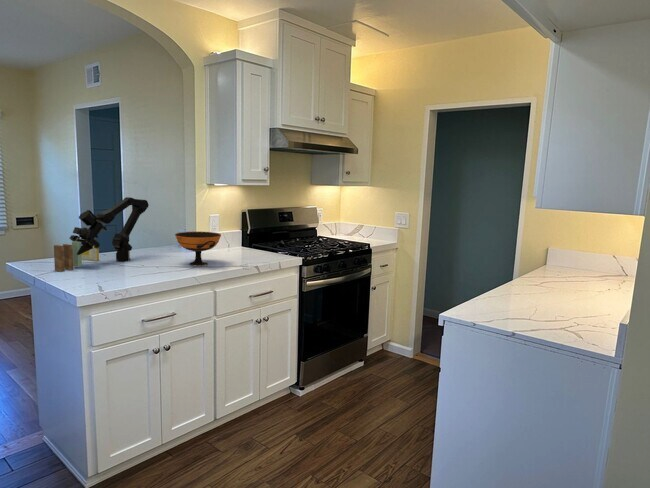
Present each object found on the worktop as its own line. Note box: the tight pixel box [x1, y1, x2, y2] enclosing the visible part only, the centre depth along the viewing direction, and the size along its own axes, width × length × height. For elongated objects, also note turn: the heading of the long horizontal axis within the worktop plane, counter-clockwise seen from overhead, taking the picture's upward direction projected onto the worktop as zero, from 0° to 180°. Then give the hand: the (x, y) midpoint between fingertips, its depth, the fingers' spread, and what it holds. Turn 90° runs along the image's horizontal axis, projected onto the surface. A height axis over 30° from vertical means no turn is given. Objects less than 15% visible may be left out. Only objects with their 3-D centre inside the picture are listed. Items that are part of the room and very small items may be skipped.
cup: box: [174, 231, 222, 267], centre depth 261 cm, size 36×26×18 cm
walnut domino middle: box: [62, 243, 74, 271], centre depth 234 cm, size 2×5×13 cm, turn 61°
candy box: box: [82, 246, 100, 262], centre depth 260 cm, size 16×2×8 cm, turn 84°
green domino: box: [71, 240, 83, 268], centre depth 238 cm, size 2×5×13 cm, turn 61°
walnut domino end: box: [53, 244, 65, 272], centre depth 230 cm, size 2×5×13 cm, turn 61°
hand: (74, 254), depth 237 cm, fingers closed on green domino, 5 cm apart
